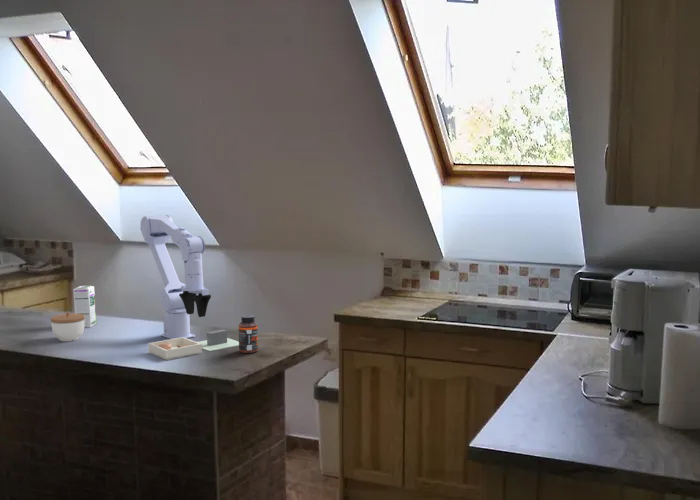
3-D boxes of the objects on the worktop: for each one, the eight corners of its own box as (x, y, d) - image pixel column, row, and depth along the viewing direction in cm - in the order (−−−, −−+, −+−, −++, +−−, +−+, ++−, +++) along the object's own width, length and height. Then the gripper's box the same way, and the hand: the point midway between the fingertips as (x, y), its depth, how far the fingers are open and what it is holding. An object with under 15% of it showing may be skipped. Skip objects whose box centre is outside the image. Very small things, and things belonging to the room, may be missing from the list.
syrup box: (91, 327, 260) (89, 288, 258) (75, 327, 260) (72, 288, 258) (97, 324, 266) (95, 285, 264) (81, 324, 266) (79, 285, 264)
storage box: (148, 352, 225) (148, 343, 224) (183, 346, 233) (182, 337, 232) (166, 360, 216) (166, 350, 216) (201, 353, 224) (201, 343, 223)
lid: (189, 345, 236) (189, 331, 235) (224, 339, 244) (223, 325, 244) (209, 353, 226) (209, 338, 226) (245, 346, 235) (244, 331, 234)
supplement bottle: (254, 354, 222) (253, 318, 221) (236, 353, 223) (235, 317, 222) (260, 349, 228) (260, 314, 226) (242, 348, 229) (242, 313, 228)
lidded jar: (58, 344, 236) (56, 316, 235) (47, 339, 244) (45, 311, 243) (90, 339, 243) (89, 312, 242) (78, 333, 251) (77, 307, 250)
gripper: (172, 273, 236) (174, 314, 238) (193, 276, 226) (196, 319, 227) (191, 271, 241) (193, 311, 242) (213, 274, 230) (215, 316, 231)
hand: (196, 315), depth 235 cm, fingers open, 7 cm apart
